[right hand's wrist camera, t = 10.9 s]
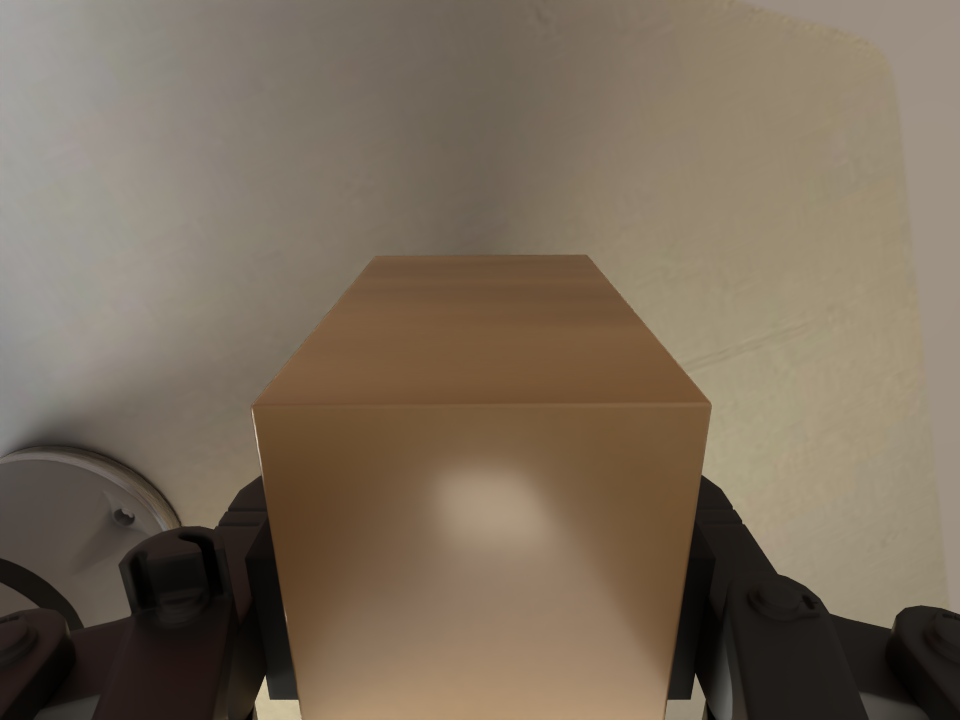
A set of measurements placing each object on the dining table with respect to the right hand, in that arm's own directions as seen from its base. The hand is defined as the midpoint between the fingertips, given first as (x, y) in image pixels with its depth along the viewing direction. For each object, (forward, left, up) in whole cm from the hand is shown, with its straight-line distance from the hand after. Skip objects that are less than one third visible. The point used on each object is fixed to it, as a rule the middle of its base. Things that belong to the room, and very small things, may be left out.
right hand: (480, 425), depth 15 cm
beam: (-22, -5, -1) cm, 23 cm away
